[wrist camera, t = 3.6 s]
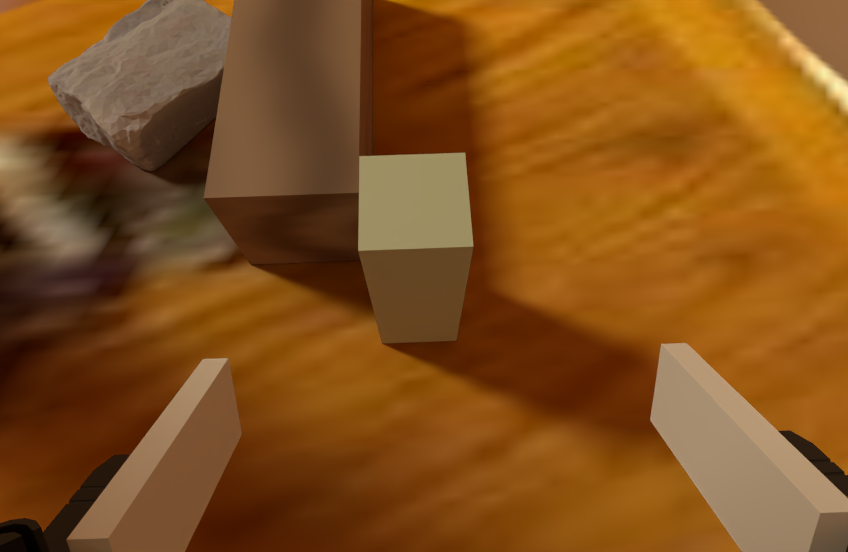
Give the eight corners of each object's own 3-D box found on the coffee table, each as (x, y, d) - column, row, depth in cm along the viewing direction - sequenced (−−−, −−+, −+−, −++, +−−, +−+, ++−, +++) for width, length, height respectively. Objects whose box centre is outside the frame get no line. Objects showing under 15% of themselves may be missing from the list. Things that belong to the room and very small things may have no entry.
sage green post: (381, 343, 28) (358, 250, 18) (381, 276, 30) (359, 156, 20) (456, 340, 28) (473, 246, 18) (451, 273, 30) (465, 152, 20)
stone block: (72, 135, 36) (157, 186, 32) (18, 76, 32) (106, 126, 28) (198, 39, 41) (287, 73, 37) (163, -23, 37) (259, 7, 33)
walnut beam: (250, 264, 30) (203, 198, 24) (278, -2, 39) (250, -102, 33) (372, 260, 30) (358, 192, 24) (372, -4, 39) (362, -105, 33)
